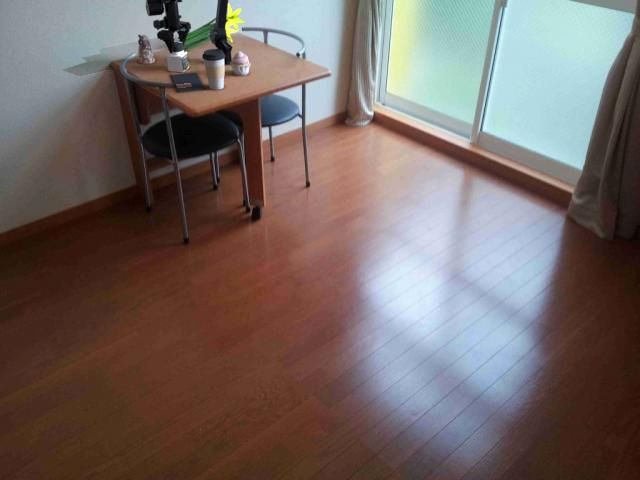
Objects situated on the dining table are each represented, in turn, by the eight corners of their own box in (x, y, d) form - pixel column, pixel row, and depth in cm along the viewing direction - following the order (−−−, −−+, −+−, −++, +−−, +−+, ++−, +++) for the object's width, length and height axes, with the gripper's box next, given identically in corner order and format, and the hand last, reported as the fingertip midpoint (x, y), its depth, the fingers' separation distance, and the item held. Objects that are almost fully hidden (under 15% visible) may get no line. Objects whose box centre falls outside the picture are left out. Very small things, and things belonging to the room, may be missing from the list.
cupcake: (248, 68, 261) (247, 46, 255) (253, 76, 254) (252, 53, 248) (228, 71, 258) (226, 48, 252) (233, 78, 251) (231, 55, 245)
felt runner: (196, 73, 255) (196, 72, 255) (204, 89, 240) (204, 88, 240) (171, 75, 252) (171, 74, 252) (178, 92, 237) (178, 91, 237)
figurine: (146, 64, 262) (142, 38, 255) (135, 61, 265) (131, 35, 258) (158, 60, 267) (154, 34, 260) (147, 57, 270) (143, 31, 263)
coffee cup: (228, 83, 246) (226, 48, 237) (226, 91, 239) (223, 56, 230) (206, 83, 246) (203, 48, 237) (203, 91, 238) (200, 55, 229)
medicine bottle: (183, 72, 255) (180, 45, 248) (168, 71, 256) (164, 44, 249) (189, 67, 261) (186, 40, 254) (174, 66, 262) (171, 39, 255)
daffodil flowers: (175, 44, 289) (236, 17, 297) (189, 66, 286) (250, 38, 294) (170, 22, 273) (234, -6, 281) (184, 45, 270) (249, 16, 278)
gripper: (167, 6, 253) (172, 41, 262) (143, 16, 239) (149, 54, 248) (189, 9, 250) (193, 44, 260) (166, 20, 236) (171, 57, 245)
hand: (176, 50), depth 253 cm, fingers open, 9 cm apart
